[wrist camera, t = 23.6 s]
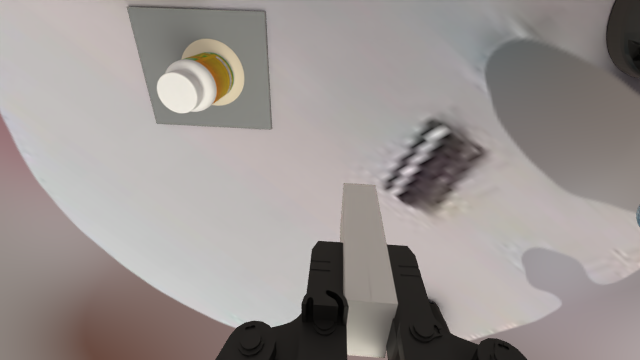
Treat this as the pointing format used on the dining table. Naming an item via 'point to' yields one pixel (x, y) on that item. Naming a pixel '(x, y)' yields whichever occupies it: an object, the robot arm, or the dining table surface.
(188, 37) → the slate board
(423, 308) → the robot arm
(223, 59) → the supplement bottle
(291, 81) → the dining table surface
